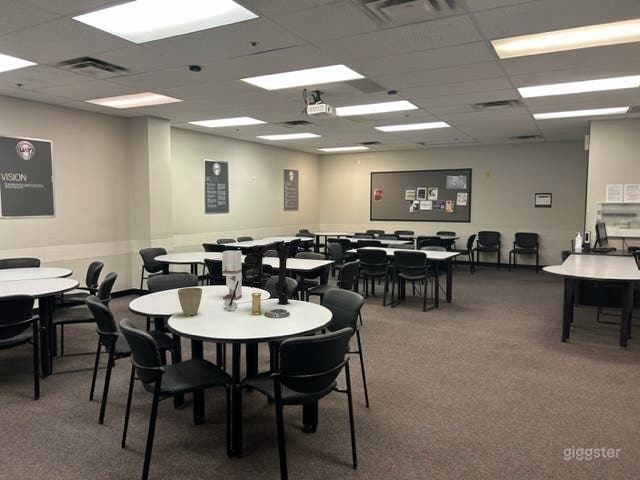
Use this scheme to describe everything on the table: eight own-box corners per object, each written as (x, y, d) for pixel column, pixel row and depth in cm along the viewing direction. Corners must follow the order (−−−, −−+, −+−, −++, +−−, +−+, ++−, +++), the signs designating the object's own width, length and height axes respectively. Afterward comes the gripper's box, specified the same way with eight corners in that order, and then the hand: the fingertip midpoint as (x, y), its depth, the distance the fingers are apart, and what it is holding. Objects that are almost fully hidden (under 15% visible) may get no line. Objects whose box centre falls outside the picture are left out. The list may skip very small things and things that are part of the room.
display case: (228, 296, 340) (227, 250, 338) (241, 297, 339) (241, 250, 336) (222, 299, 329) (222, 252, 327) (236, 300, 328) (236, 252, 325)
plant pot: (181, 312, 290) (180, 287, 289) (204, 311, 291) (204, 287, 290) (175, 317, 275) (174, 291, 274) (200, 317, 276) (199, 291, 275)
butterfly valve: (223, 305, 308) (222, 308, 291) (232, 277, 309) (231, 279, 292) (235, 309, 309) (235, 312, 292) (244, 281, 310) (244, 283, 293)
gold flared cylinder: (256, 312, 289) (256, 292, 288) (263, 313, 286) (263, 293, 285) (249, 314, 284) (249, 293, 283) (256, 315, 281) (256, 295, 280)
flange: (266, 311, 291) (266, 308, 291) (291, 312, 290) (291, 308, 290) (262, 317, 275) (262, 313, 275) (288, 318, 274) (288, 314, 274)
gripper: (238, 263, 292) (237, 287, 292) (260, 265, 281) (259, 290, 281) (250, 263, 301) (249, 286, 301) (272, 265, 290) (270, 289, 290)
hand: (256, 288), depth 293 cm, fingers open, 9 cm apart
